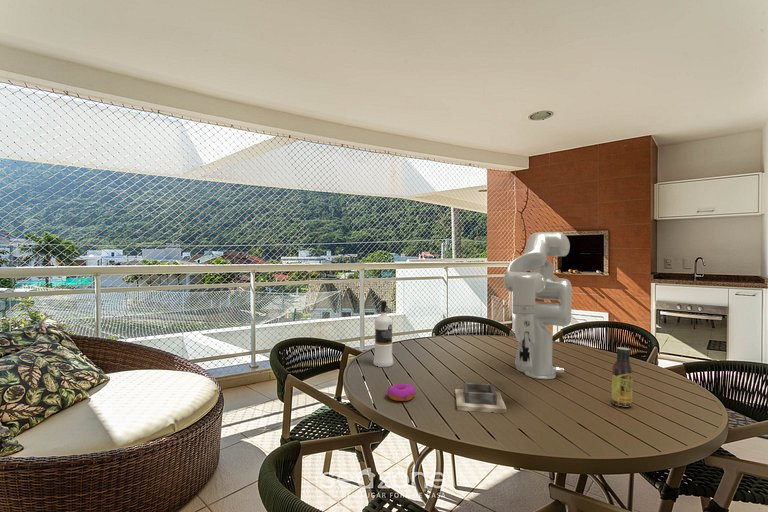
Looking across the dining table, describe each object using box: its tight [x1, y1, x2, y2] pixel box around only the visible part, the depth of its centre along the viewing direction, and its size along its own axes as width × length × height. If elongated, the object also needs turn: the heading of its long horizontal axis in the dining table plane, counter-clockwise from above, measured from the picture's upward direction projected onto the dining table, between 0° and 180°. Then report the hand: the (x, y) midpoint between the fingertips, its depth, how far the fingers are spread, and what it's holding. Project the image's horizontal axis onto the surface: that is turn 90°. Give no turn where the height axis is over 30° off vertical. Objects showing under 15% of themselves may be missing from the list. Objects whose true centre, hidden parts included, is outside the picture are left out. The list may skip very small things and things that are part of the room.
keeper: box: [454, 382, 508, 414], centre depth 136 cm, size 16×16×5 cm
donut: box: [386, 383, 417, 402], centre depth 140 cm, size 10×10×5 cm
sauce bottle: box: [610, 346, 634, 406], centre depth 135 cm, size 6×6×20 cm
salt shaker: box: [514, 338, 532, 373], centre depth 136 cm, size 6×6×13 cm
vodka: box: [372, 300, 394, 368], centre depth 180 cm, size 9×9×30 cm
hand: (523, 360), depth 136 cm, fingers closed on salt shaker, 3 cm apart
